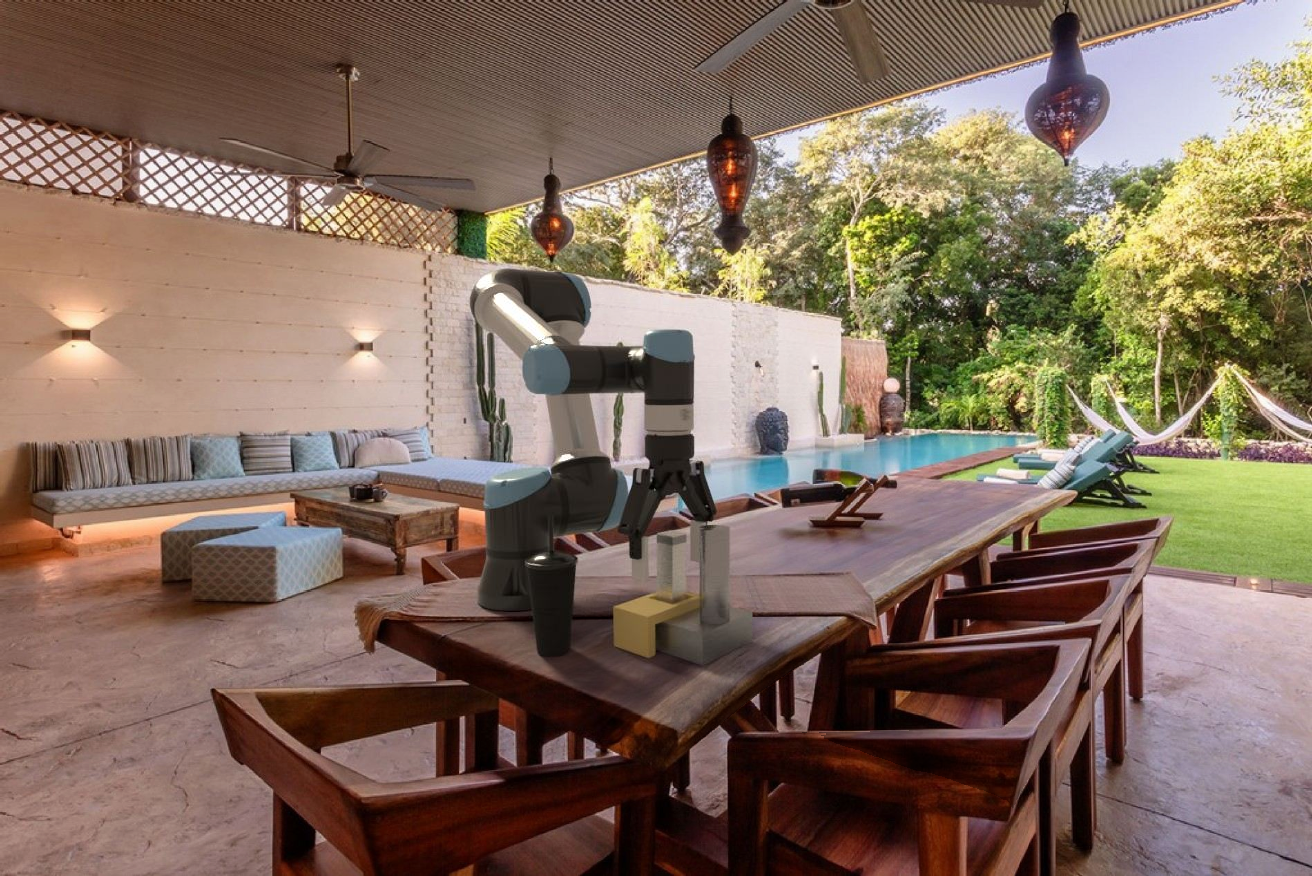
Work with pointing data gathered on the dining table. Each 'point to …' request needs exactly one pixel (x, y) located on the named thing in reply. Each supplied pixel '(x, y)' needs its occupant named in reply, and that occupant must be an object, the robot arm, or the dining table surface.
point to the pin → (671, 566)
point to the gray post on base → (708, 608)
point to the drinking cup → (552, 597)
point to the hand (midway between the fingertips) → (670, 570)
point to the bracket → (646, 621)
